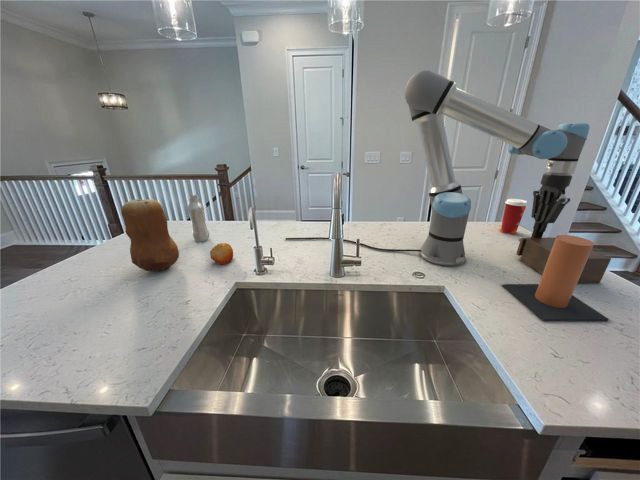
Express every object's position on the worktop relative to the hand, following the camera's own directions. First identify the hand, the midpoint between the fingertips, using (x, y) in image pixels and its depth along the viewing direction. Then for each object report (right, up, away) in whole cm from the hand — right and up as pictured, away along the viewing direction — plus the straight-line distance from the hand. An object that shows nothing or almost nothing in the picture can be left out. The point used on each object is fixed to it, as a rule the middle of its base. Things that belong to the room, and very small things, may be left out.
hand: (535, 238), depth 96 cm
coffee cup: (+8, +3, +26) cm, 27 cm away
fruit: (-116, -9, +1) cm, 116 cm away
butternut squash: (-137, -11, -4) cm, 137 cm away
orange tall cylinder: (-16, -17, -24) cm, 34 cm away
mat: (-16, -18, -24) cm, 34 cm away
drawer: (0, -8, -3) cm, 8 cm away
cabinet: (0, -11, -8) cm, 14 cm away
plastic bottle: (-133, -1, +20) cm, 134 cm away
